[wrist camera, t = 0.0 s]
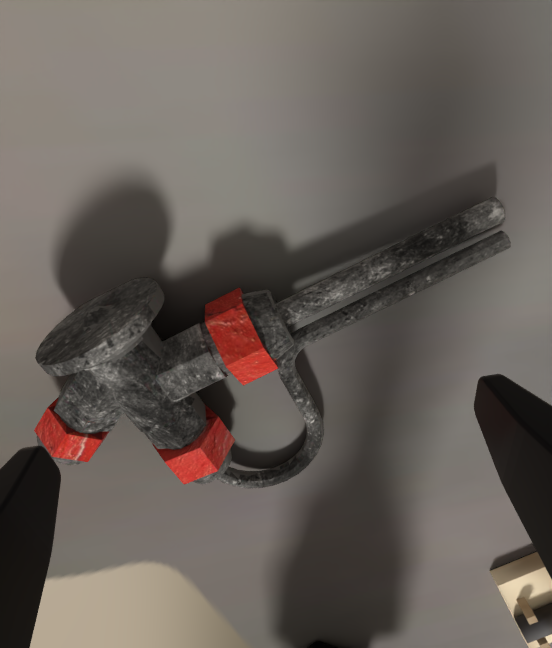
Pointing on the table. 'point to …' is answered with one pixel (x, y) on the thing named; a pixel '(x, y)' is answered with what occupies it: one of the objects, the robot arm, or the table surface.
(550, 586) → the comb board
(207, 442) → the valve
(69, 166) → the table surface
